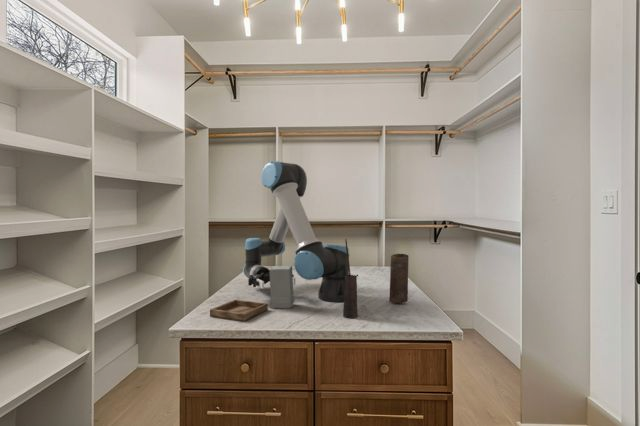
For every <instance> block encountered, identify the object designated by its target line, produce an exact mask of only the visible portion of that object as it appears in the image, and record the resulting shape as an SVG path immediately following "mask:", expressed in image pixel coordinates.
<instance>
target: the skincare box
mask: <svg viewBox="0 0 640 426" xmlns="http://www.w3.org/2000/svg"><path fill="white" fill-rule="evenodd" d="M269 271H270V282H269V289H270V291H269V292H270V308H271V309H291V308H292V306H293V305H294V302H295V300H294V285H293V275H294V274H293V265H284V266H283V265H278V266H277V265H273V266H272V267H270V268H269Z"/></svg>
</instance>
